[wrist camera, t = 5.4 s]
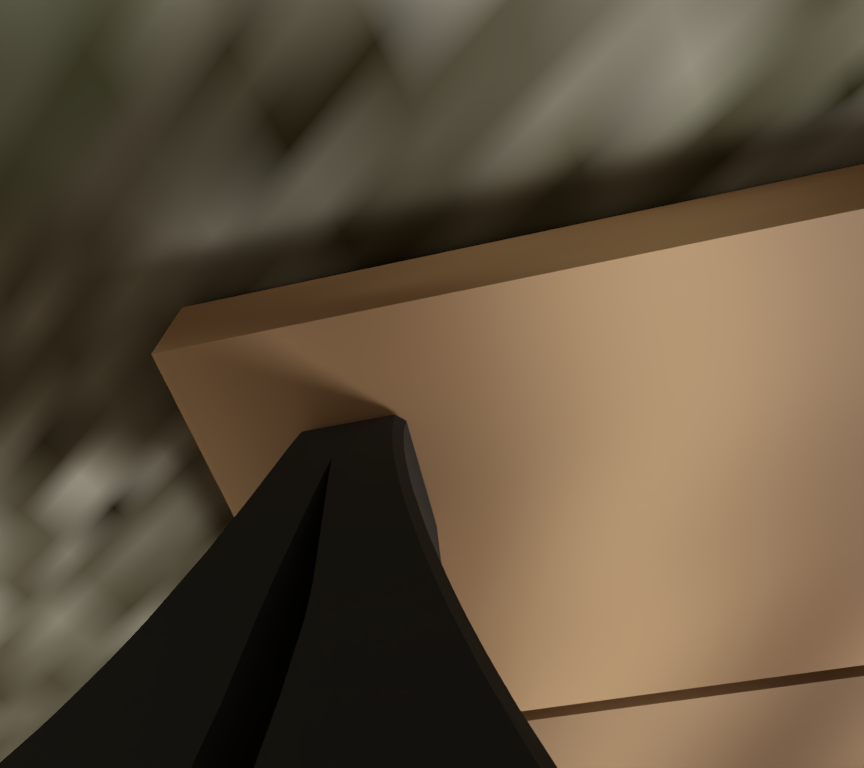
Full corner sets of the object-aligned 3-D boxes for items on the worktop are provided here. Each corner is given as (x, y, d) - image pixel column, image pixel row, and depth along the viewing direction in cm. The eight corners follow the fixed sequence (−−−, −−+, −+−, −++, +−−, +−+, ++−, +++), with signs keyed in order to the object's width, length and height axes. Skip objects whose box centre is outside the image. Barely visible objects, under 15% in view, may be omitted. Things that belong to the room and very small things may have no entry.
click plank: (351, 674, 13) (345, 735, 12) (182, 307, 9) (150, 354, 8) (1278, 540, 12) (1361, 598, 11) (1605, 7, 7) (1800, 18, 6)
